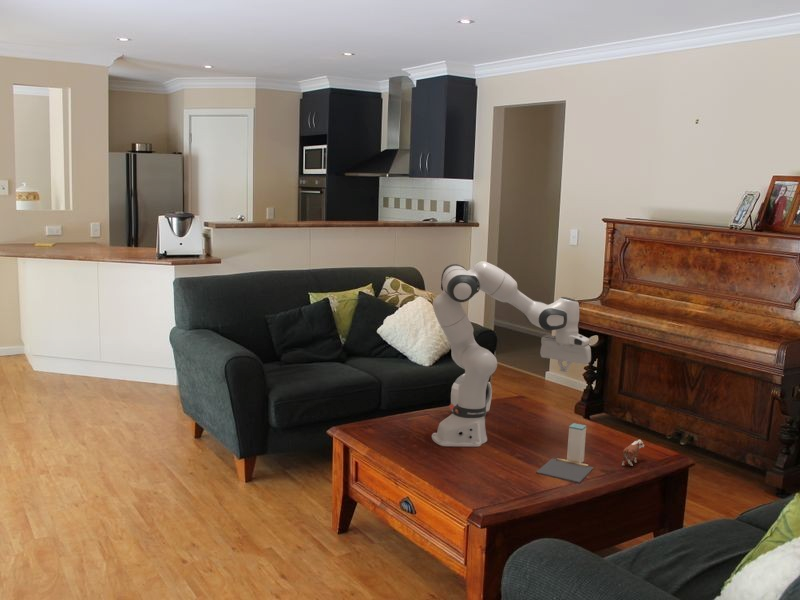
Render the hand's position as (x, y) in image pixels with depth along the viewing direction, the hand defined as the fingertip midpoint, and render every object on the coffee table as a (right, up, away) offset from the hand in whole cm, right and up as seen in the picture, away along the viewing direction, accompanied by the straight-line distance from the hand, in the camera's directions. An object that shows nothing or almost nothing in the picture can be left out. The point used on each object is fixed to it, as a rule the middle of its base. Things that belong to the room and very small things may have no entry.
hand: (564, 371), depth 311 cm
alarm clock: (-35, -23, +33) cm, 53 cm away
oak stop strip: (-2, -33, -22) cm, 39 cm away
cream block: (0, -32, -19) cm, 37 cm away
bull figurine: (+22, -33, -18) cm, 44 cm away
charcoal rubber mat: (-6, -34, -29) cm, 45 cm away
